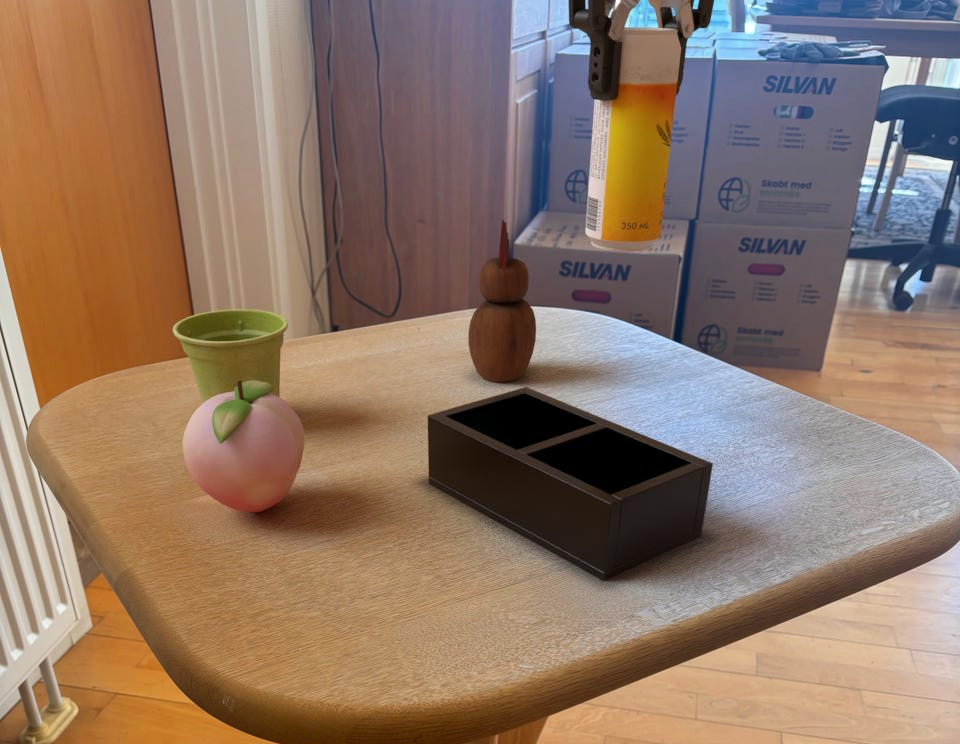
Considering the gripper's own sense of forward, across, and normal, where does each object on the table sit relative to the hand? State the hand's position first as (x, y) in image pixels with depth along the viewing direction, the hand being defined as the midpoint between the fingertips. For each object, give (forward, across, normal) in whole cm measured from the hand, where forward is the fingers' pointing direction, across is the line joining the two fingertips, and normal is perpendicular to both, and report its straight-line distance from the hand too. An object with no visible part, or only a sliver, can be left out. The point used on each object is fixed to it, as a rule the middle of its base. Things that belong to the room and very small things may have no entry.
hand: (635, 96), depth 73 cm
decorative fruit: (+26, -34, +3) cm, 43 cm away
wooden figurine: (+26, 0, +14) cm, 30 cm away
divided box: (+26, -16, -11) cm, 32 cm away
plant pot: (+26, -26, +19) cm, 41 cm away
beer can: (+11, 0, 0) cm, 11 cm away
